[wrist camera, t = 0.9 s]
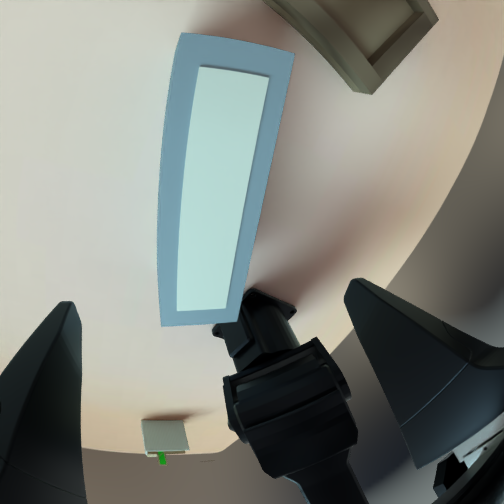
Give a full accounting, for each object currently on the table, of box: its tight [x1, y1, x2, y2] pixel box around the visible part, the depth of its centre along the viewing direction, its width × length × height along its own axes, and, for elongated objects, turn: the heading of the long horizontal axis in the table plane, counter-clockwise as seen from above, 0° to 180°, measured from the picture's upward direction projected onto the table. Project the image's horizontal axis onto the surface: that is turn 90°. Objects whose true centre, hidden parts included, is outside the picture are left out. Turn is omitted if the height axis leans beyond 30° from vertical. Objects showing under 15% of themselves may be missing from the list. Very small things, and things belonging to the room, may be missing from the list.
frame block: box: [157, 33, 295, 327], centre depth 15 cm, size 5×16×6 cm, turn 169°
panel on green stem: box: [141, 420, 189, 465], centre depth 34 cm, size 4×7×8 cm, turn 69°
